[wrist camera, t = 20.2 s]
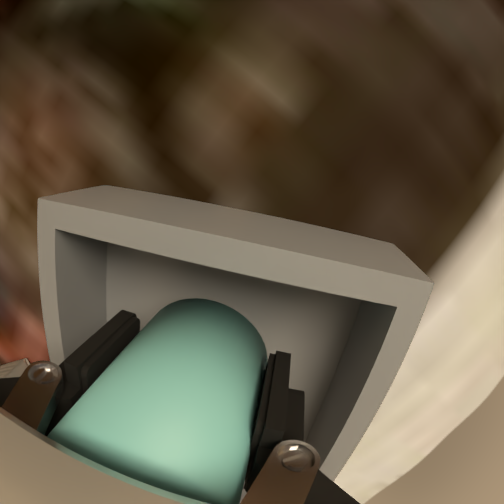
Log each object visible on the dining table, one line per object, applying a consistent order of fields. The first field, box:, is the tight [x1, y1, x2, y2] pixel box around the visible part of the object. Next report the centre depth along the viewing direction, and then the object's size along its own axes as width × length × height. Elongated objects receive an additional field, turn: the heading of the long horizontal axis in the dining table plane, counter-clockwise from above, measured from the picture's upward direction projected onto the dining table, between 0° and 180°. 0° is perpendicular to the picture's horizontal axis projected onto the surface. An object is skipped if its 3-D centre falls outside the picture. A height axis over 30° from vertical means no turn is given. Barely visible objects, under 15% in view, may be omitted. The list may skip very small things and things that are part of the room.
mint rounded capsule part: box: [47, 298, 268, 504], centre depth 9 cm, size 5×5×7 cm
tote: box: [37, 185, 434, 503], centre depth 14 cm, size 18×14×5 cm
